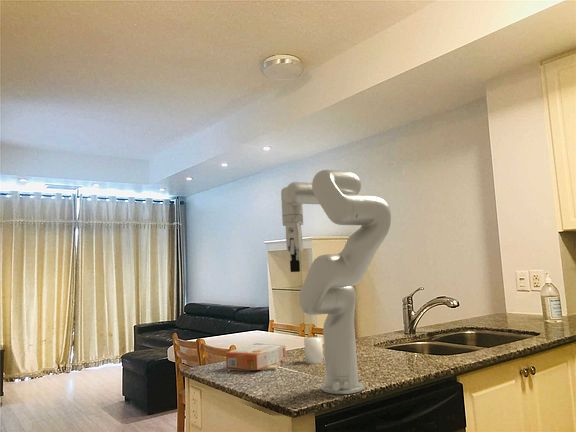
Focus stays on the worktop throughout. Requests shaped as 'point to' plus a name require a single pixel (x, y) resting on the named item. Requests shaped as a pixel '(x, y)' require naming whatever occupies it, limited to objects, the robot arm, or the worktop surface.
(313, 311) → the robot arm
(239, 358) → the cracker box
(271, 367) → the cork board
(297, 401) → the worktop surface
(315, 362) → the white rounded block
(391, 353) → the worktop surface
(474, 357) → the worktop surface
